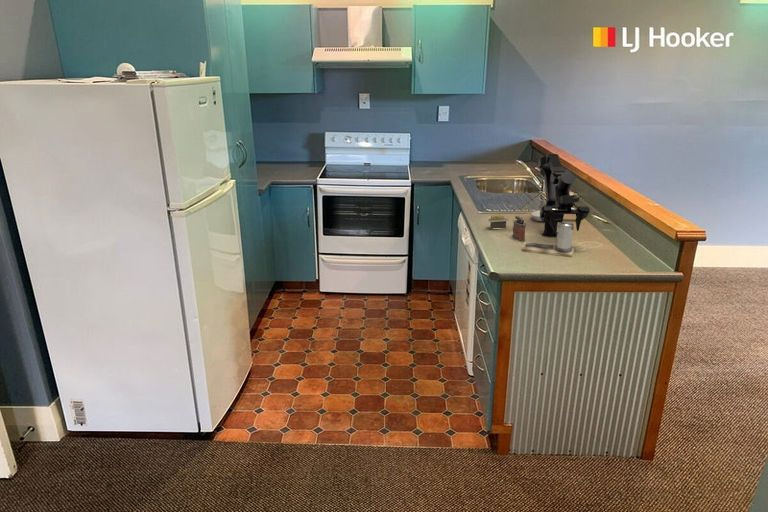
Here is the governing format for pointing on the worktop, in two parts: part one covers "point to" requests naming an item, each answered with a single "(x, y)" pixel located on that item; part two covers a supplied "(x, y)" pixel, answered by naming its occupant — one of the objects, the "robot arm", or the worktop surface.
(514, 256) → the worktop surface
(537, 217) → the spoon rest
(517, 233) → the lighter
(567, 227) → the silver cylindrical piece
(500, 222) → the platform
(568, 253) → the board
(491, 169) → the worktop surface
